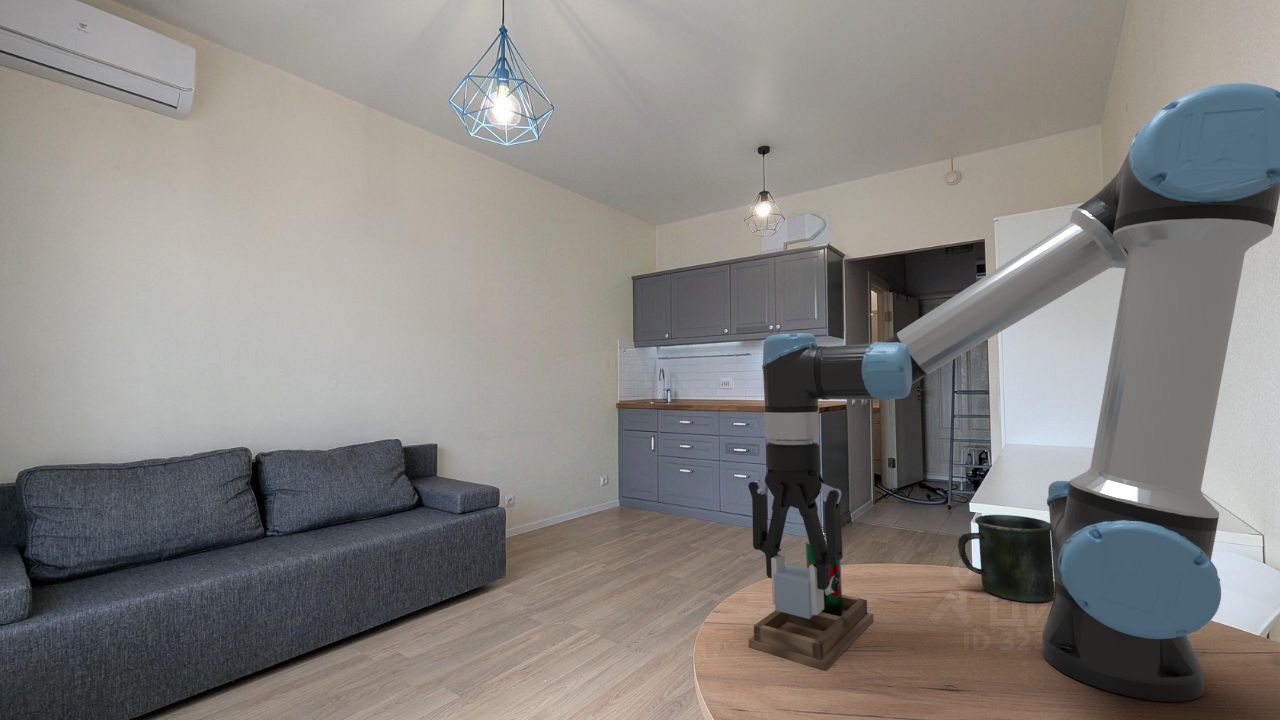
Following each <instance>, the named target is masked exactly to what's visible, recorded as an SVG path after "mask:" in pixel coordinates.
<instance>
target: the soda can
mask: <svg viewBox="0 0 1280 720" xmlns="http://www.w3.org/2000/svg"><path fill="white" fill-rule="evenodd" d="M823 535H824V539H825V542H826V532H825V533H824V532H823ZM826 546H827V542H826ZM841 560H842V559H841ZM841 560H839V561H838V562H837V563H835V564H829V582H830V584H829V587H828V588H827V589H825V590H824V610H822V611H821V612H823V613H827V614H831V615H835V616H842V615H843V602H842V595H843V588H842V587H843V586H842V585H843V584H842V583H843V582H842V565H841V564H842V563H841ZM805 562H806V567H805V568H809V566H810V565H811V564H813V563H814V562H815V561H814V558H813V554H812V550H811V547H810V543H809V539H808V538H807V539H806V541H805ZM809 569H810V568H809Z"/></svg>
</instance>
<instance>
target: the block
mask: <svg viewBox="0 0 1280 720" xmlns="http://www.w3.org/2000/svg"><path fill="white" fill-rule="evenodd" d="M774 590H775V605H774V607H775V609H774V611H775V610H776V611H780V612H784V613H788V614H792V615H796V616H800V617H803V618H807V619H810V618H811V617H812V616H813V614H811V587H810V569H809V568H807V567H804V566H803V567H802V566H798V565H795V564H794V565H793V564H787V565H785V567H784V568H783V569H781V570H780V571H778V572H777V573H775V574H774Z"/></svg>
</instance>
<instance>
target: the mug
mask: <svg viewBox="0 0 1280 720" xmlns="http://www.w3.org/2000/svg"><path fill="white" fill-rule="evenodd" d="M974 522H975V523H976V524H977V525H978V526H977V529H978V532H969V533H964V534H961V536H960V537H959V538H958V542H957V549H958V554H959V557H960V559H961V561H962V563H963V565H965V566H966V568H967V569H968V570H970V571H971V572H973V573H974V574H978V575H980V576H981V585H982V587H983V588H984V590H985V591H986V592H988V593H989V594H992V595H993V596H997V597H999V598H1004V599H1008V600H1013V601H1019V602H1025V603H1028V602H1029V603H1042V602H1048V601H1051V600H1052V599H1054V597H1055V583H1054V571H1053V556H1052V542H1051V528H1050V522H1048V521H1045V520H1042V519H1038V518H1034V517H1028V516H1021V515H1012V514H985V515H980V516H977V517H975V519H974ZM970 540H971V541H972V540H978V543H979V544H978V545H979V555H980V556H979V558H980V562H979V563H980V568H978V567H975V566H974V565H973V564H972V563H971V561H970V560H969V557H968V556H967V552H966V544H967V543H968V542H969V541H970Z"/></svg>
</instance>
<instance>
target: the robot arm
mask: <svg viewBox="0 0 1280 720" xmlns="http://www.w3.org/2000/svg"><path fill="white" fill-rule="evenodd" d="M1279 201H1280V91H1279V90H1277V89H1274V88H1273V87H1269V86H1266V85H1261V84H1256V83H1255V84H1254V83H1247V82H1245V83H1243V82H1241V83H1239V82H1237V83H1234V82H1233V83H1223V84H1215V85H1210V86H1207V87H1202V88H1199V89H1197V90H1193V91H1191V92H1188V93H1185V94H1184V95H1181V96H1179V97H1177V98H1176V99H1174V100H1172V101H1170V102H1169V103H1167V104H1165V105H1164V106H1163V107H1161V108H1160V109H1159V110H1158V111H1157V112H1155V113H1154V114H1153V115H1152V116H1151V117H1149V120H1148V121H1147V122H1145V123H1144V124H1143V125H1142V126H1141V128H1140V129H1138V131H1137V132H1136V133H1135V136H1134V138H1133V140H1132V142H1131V143H1130V146H1129V151H1128V153H1127V154H1126V156H1125V159H1124V160H1123V163H1122V165H1121V167H1120V169H1119V171H1118V172H1117V173H1116V174H1115V176H1114V177H1113V178H1112V179H1111V180H1110V181H1109V182H1108V183H1107V184H1106V185H1105V186H1104V187H1103V188H1102V189H1101V190H1100V191H1099V192H1097V193H1096V194H1094V196H1092V197H1091V198H1089V200H1087V201H1085V202H1084V203H1082V204H1080V206H1078V207H1076V208H1075V209H1073V210H1072V213H1071V215H1070V219H1069V222H1068V223H1066V224H1065V225H1063V226H1061V227H1060V228H1058V229H1056V231H1053V232H1052V233H1051V234H1049V235H1047V236H1046V237H1044V238H1043V239H1042V240H1039V241H1038V242H1037V243H1035V244H1033V245H1032V246H1030V247H1029V248H1026V249H1025V250H1024V251H1022V252H1020V254H1018V255H1016V256H1015V257H1012V258H1011V259H1010V260H1008V261H1007V262H1005V263H1004V264H1002V265H1001V266H999V267H998V268H995V269H994V270H992V271H991V272H990V273H988V274H987V275H985V276H983V277H982V278H981V279H978V280H977V281H976V282H974V283H972V284H971V285H969V286H968V287H966V288H965V289H963V290H962V291H960V292H958V293H957V294H955V295H954V296H952V297H951V298H950V299H948V300H946V301H945V302H942V304H940V305H939V306H936V307H935V308H934V309H932V310H929V312H927V313H926V314H924V315H922V317H920V318H918V319H917V320H914V321H913V322H912V323H910V324H908V325H906V326H905V327H903V328H902V329H901V330H900V331H898V332H897V333H895V334H894V335H892V336H890V337H889V338H887V339H885V340H884V341H876V342H871V343H856V344H855V343H854V344H844V345H832V346H826V345H824V346H822V345H818V343H817V340H816V337H815V336H814V334H813V333H808V332H807V333H806V332H805V333H804V332H799V333H798V332H797V333H796V332H795V333H779V334H773V335H769V336H768V337H767V338H765V339H764V340H763V341H764V342H763V350H762V365H761V367H762V368H761V369H762V377H763V380H762V381H763V394H764V395H763V397H764V438H765V439H766V440H769V442H767V443H766V444H765V462H766V463H765V466H766V468H767V470H766V471H767V472H766V474H765V477H764V478H763V479H757V480H755V481H750V482H749V483H748V490H749V493H750V496H751V503H752V504H751V505H752V507H751V508H752V509H751V511H752V513H751V514H752V546H753V549H754V550H756V551H758V550H759V551H761V552H762V553H763V554H764V555H765V564H766V569H765V570H766V576H767V578H768V579H771V589H772V590H771V592H772V593H771V594H772V605H774V606H775V590H774V574H775V573H777V572H778V571H780V570H781V569H783V568H784V567H786V565H785V563H786V561H785V554H784V553H780V552H781V551H782V548H781V545H782V544H781V543H782V541H783V540H782V539H783V534H784V530H785V525H786V521H787V516H788V512H789V509H790V508H791V507H792V508H794V509H798V512H799V515H800V516H801V518H802V520H803V525H804V528H805V532H806V535H807V539H809V543H810V547H811V550H812V554H813V558H814V561H815V562H814V563H813V564H811V565H810V566H809V568H810V587H811V614H813V615H818V614H819V613H820V612H821V611H822V610H824V590H825V589H827V588H828V587H829V584H830V582H829V564H835V563H837V562H838V561H839V560H842V559H843V556H844V555H843V538H842V534H843V533H842V519H841V503H842V499H843V497H844V493H845V492H844V490H843V489H842V488H841V487H836V488H834V487H833V486H830V485H828V484H825V481H824V479H823V478H822V474H821V467H822V466H821V445H820V444H819V443H818V442H816V441H817V440H818V439H819V438H820V425H819V424H820V422H819V421H820V420H819V400H823V401H824V400H828V401H829V400H856V401H857V400H862V401H863V400H864V401H865V400H869V401H871V400H875V401H879V402H880V401H881V402H882V401H883V402H884V401H890V400H900V399H901V400H902V399H905V398H907V397H908V396H909V395H910V393H911V391H912V390H911V389H912V385H913V384H914V383H916V382H918V381H920V380H921V379H923V378H924V377H926V376H927V375H930V374H931V373H932V372H934V371H935V370H938V369H939V368H941V367H943V366H945V365H947V364H948V363H950V362H952V361H953V360H955V359H957V358H958V357H960V356H962V355H964V354H965V353H967V352H968V351H970V350H972V349H973V348H975V347H977V346H979V345H981V344H982V343H984V342H986V341H987V340H989V339H991V338H993V337H994V336H996V335H997V334H999V333H1001V332H1002V331H1005V330H1006V329H1008V328H1010V327H1011V326H1013V325H1014V324H1017V323H1018V322H1020V321H1021V320H1023V319H1025V318H1027V317H1029V316H1030V315H1032V314H1034V313H1035V312H1037V311H1039V310H1040V309H1042V308H1044V307H1045V306H1047V305H1049V304H1051V303H1052V302H1054V301H1056V300H1058V299H1059V298H1061V297H1063V296H1064V295H1066V294H1068V293H1069V292H1072V291H1073V290H1075V289H1076V288H1079V286H1082V285H1083V284H1085V283H1086V282H1088V281H1091V280H1092V279H1094V278H1095V277H1097V276H1099V275H1100V274H1102V273H1104V272H1106V271H1107V270H1109V269H1113V268H1115V269H1117V268H1118V269H1125V270H1124V273H1123V279H1122V284H1121V285H1122V286H1121V292H1120V298H1119V303H1118V309H1117V314H1116V318H1115V319H1116V320H1115V326H1114V332H1113V336H1112V337H1113V338H1112V342H1111V349H1110V354H1109V359H1108V366H1107V372H1106V376H1105V377H1106V378H1105V384H1104V389H1103V395H1102V400H1101V406H1100V411H1099V418H1098V423H1097V429H1096V434H1095V440H1094V445H1093V451H1092V452H1093V453H1092V457H1091V461H1090V468H1088V470H1087V471H1085V472H1083V473H1081V474H1079V475H1077V476H1075V477H1073V478H1071V479H1070V480H1056V481H1053V482H1051V483H1050V484H1049V486H1048V490H1047V491H1048V495H1047V496H1048V497H1047V499H1046V504H1047V506H1048V511H1049V523H1050V528H1051V530H1050V534H1051V549H1052V563H1053V577H1054V591H1055V595H1054V597H1053V602H1052V604H1051V607H1050V610H1049V614H1048V615H1047V616H1048V617H1047V619H1046V622H1045V625H1044V628H1043V631H1042V636H1041V644H1042V654H1043V656H1044V658H1045V660H1046V661H1047V662H1048V663H1049V664H1050V665H1051V666H1053V667H1054V669H1057V670H1058V671H1060V672H1062V673H1063V674H1065V675H1067V676H1069V677H1070V678H1073V679H1075V680H1077V681H1080V682H1081V683H1084V684H1087V685H1089V686H1093V687H1094V688H1099V689H1101V690H1104V691H1107V692H1111V693H1113V694H1114V693H1115V694H1118V695H1121V696H1122V695H1123V696H1126V697H1131V698H1136V699H1142V700H1147V701H1157V702H1170V703H1171V702H1172V703H1173V702H1176V703H1177V702H1178V703H1179V702H1188V701H1194V700H1197V699H1199V698H1201V697H1202V696H1203V695H1204V693H1205V690H1206V687H1205V678H1204V670H1203V667H1202V665H1201V663H1200V661H1199V659H1198V657H1197V656H1198V655H1197V654H1196V653H1195V650H1194V648H1193V646H1192V644H1191V642H1190V640H1189V638H1188V635H1189V634H1193V633H1195V632H1197V631H1199V630H1200V629H1202V628H1204V627H1205V626H1206V625H1208V623H1210V621H1211V620H1213V618H1214V617H1215V616H1216V615H1217V612H1218V610H1219V607H1220V605H1221V601H1222V587H1221V579H1220V577H1219V575H1218V569H1217V566H1216V565H1215V564H1214V563H1213V561H1212V556H1213V550H1214V546H1215V540H1216V535H1217V529H1218V523H1219V518H1220V511H1218V510H1217V509H1216V507H1215V506H1214V505H1213V504H1212V503H1210V501H1209V500H1208V499H1207V498H1206V496H1204V494H1203V492H1202V486H1203V480H1204V475H1205V470H1206V464H1207V459H1208V453H1209V448H1210V442H1211V438H1212V437H1211V436H1212V433H1213V432H1212V431H1213V426H1214V421H1215V414H1216V410H1217V405H1218V400H1219V394H1220V389H1221V383H1222V379H1223V373H1224V368H1225V361H1226V358H1227V357H1226V356H1227V351H1228V347H1229V346H1228V345H1229V340H1230V336H1231V331H1232V324H1233V319H1234V314H1235V308H1236V303H1237V297H1238V292H1239V288H1240V282H1241V276H1242V269H1243V265H1244V260H1245V255H1246V253H1247V252H1248V251H1249V249H1251V248H1252V247H1255V245H1257V244H1258V243H1261V242H1262V241H1264V240H1265V239H1267V238H1269V237H1270V236H1271V235H1272V234H1273V232H1274V226H1275V220H1276V217H1277V212H1278V206H1279ZM768 491H770V493H771V495H772V496H773V501H772V506H771V511H772V513H771V517H770V522H768V495H767V493H768ZM820 494H822V500H823V502H825V504H824V522H825V523H824V524H825V533H826V542H827V546H826V542H825V539H824V535H823V533H824V532H823V528H822V524H821V522H820V518H819V514H818V511H819V509H818V505H817V501H816V499H817V498H818V496H819V495H820ZM768 523H769V526H768Z"/></svg>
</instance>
